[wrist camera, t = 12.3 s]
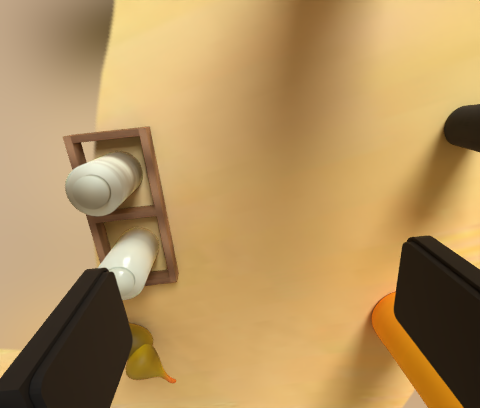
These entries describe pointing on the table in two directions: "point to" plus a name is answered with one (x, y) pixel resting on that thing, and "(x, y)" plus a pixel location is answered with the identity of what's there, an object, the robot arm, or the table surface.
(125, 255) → the celadon canister
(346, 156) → the table surface
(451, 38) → the table surface
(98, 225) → the walnut tray
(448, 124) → the drinking cup
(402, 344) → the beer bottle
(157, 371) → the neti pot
